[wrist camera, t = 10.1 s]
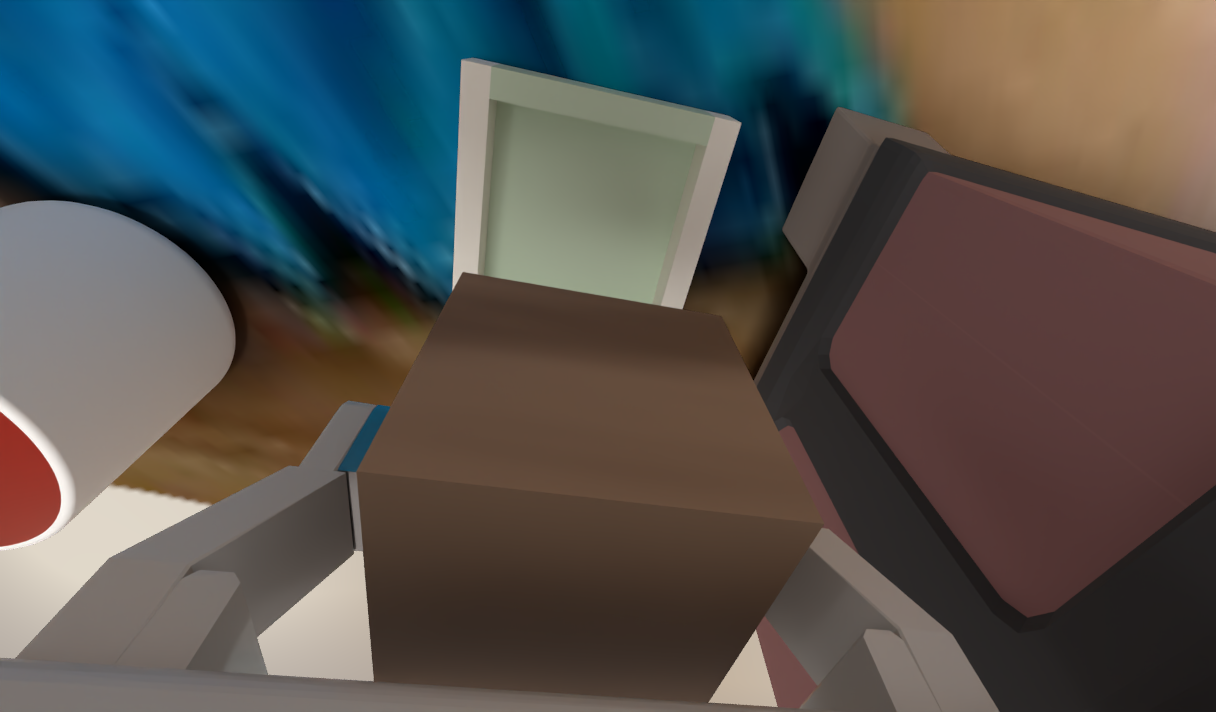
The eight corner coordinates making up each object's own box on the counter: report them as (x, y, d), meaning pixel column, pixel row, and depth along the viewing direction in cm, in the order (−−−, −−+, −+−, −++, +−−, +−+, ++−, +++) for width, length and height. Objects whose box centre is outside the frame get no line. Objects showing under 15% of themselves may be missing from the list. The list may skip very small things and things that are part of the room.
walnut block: (462, 271, 9) (355, 471, 5) (721, 315, 10) (823, 523, 6) (451, 467, 12) (376, 708, 7) (656, 491, 12) (693, 723, 8)
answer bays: (473, 57, 18) (461, 59, 17) (728, 115, 20) (741, 123, 18) (454, 437, 28) (445, 462, 27) (625, 459, 30) (627, 484, 28)
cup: (171, 176, 20) (-122, 274, 12) (286, 374, 26) (139, 538, 17) (-57, 208, 21) (-497, 324, 12) (103, 396, 26) (-128, 566, 18)
